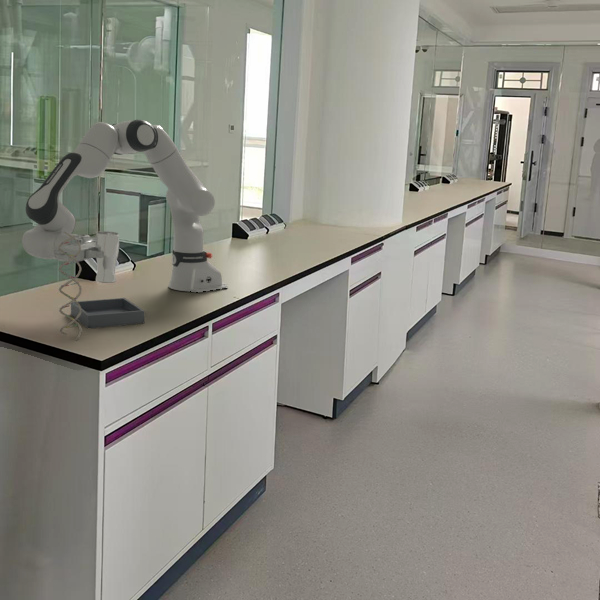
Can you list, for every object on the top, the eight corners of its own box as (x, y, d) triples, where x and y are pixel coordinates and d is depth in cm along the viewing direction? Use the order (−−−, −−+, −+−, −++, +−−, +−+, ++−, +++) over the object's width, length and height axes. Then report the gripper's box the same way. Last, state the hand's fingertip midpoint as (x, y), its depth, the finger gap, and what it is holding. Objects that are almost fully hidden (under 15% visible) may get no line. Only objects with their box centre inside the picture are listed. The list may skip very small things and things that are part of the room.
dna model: (54, 336, 207) (53, 232, 200) (75, 333, 212) (74, 231, 205) (65, 342, 203) (64, 235, 196) (86, 339, 207) (86, 234, 200)
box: (124, 309, 241) (124, 297, 240) (144, 323, 227) (144, 310, 226) (70, 314, 231) (70, 301, 230) (88, 328, 217) (88, 315, 216)
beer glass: (93, 278, 228) (95, 230, 225) (116, 278, 230) (118, 231, 227) (95, 283, 222) (97, 234, 218) (118, 283, 224) (120, 235, 221)
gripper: (50, 242, 217) (90, 247, 213) (88, 234, 236) (126, 238, 233) (50, 263, 219) (90, 268, 215) (88, 253, 238) (126, 258, 234)
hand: (109, 253), depth 224 cm, fingers closed on beer glass, 6 cm apart
